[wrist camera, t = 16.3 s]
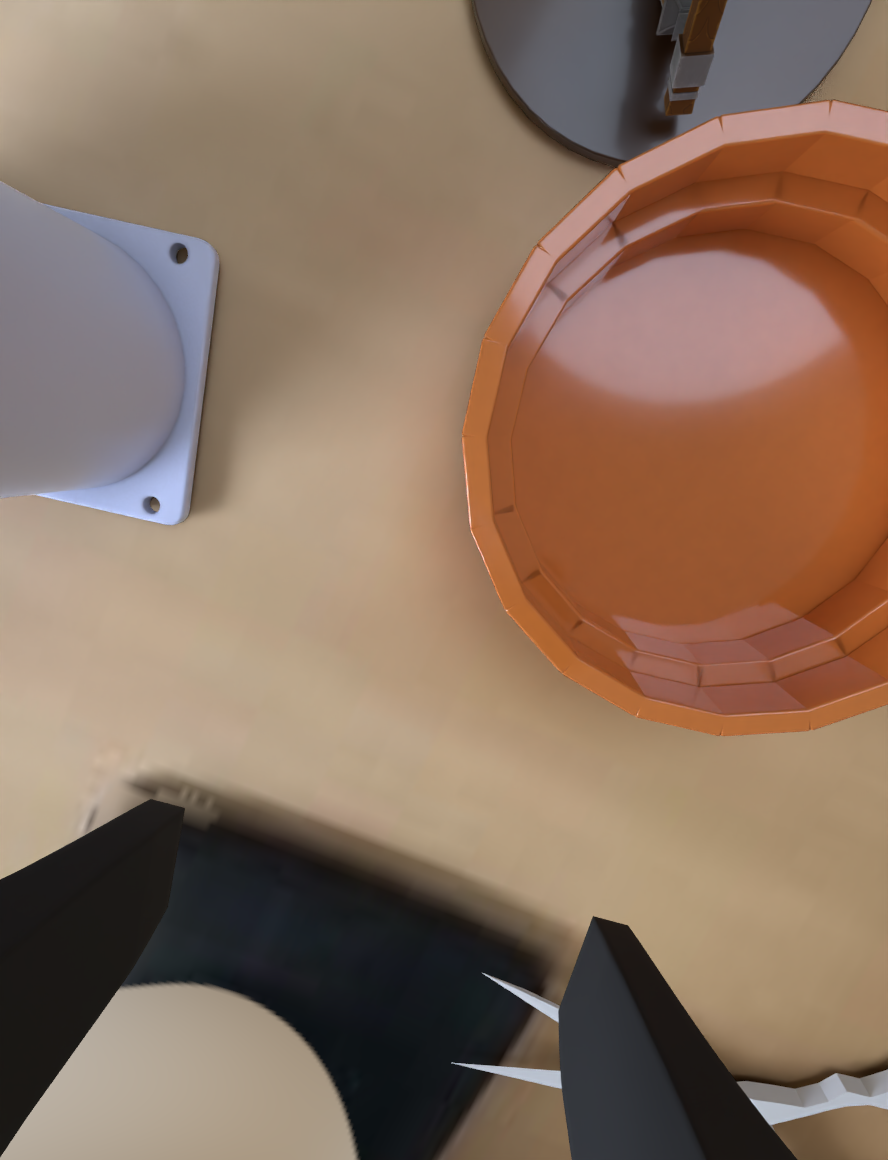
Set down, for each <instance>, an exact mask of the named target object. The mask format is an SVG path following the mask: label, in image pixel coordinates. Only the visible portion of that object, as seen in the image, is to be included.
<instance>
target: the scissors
mask: <svg viewBox="0 0 888 1160" xmlns="http://www.w3.org/2000/svg"><path fill="white" fill-rule="evenodd" d="M483 974H484V973H483ZM484 975H486V976H488V977H489V978H491V979H492V980H494V981H495V982H497V983H498V984H500V985H501V986H503V987H504V988H506V989H508V990H509V991H511V992H512V993H514V994H515V995H517V996H518V997H520V998H521V999H523V1000H524V1001H526V1002H528V1003H529V1004H531V1005H532V1006H534V1007H535V1008H537V1009H538V1010H540V1011H541V1012H543V1013H544V1014H546V1015H548V1016H549V1017H551V1018H552V1019H554V1020H555V1021H557V1022H558V1023H559V1018H558V1010H559V1008H560V1006H559V1005H557V1004H555V1003H553V1002H551V1001H549V1000H547V999H545V998H542V997H540V996H538V995H536V994H534V993H532V992H530V991H528V990H526V989H523V988H521V987H518V986H515V985H513V984H510V983H508V982H505V981H502V980H500V979H497V978H495V977H492V976H489V975H487V974H484ZM453 1064H458V1065H462V1066H466V1067H471V1068H475V1069H479V1070H483V1071H488V1072H492V1073H496V1074H501V1075H505V1076H509V1077H513V1078H518V1079H522V1080H526V1081H531V1082H535V1083H539V1084H543V1085H548V1086H552V1087H556V1088H561V1089H562V1086H561V1071H553V1070H539V1069H526V1068H513V1067H499V1066H486V1065H473V1064H459V1063H453ZM737 1083H738V1085H739V1086H740V1087H741V1088H742V1090H743V1091H744V1092H745V1094H746V1095H747V1096H748V1098H749V1099H750V1100H751V1101H752V1103H753V1104H754V1105H755V1107H756V1108H757V1109H758V1111H759V1112H760V1113H761V1115H762V1116H763V1117H764V1118H765V1120H766V1121H767V1122H768V1124H769V1125H770V1126H771V1128H772V1129H773V1127H772V1125H773V1124H777V1123H781V1122H785V1121H789V1120H793V1119H797V1118H801V1117H805V1116H809V1115H813V1114H816V1113H820V1112H824V1111H827V1110H831V1109H836V1108H841V1107H845V1106H859V1105H872V1106H876V1107H880V1108H884V1109H888V1069H887V1070H885V1071H882V1072H879V1073H875V1074H872V1075H869V1076H866V1077H863V1078H856V1077H851V1076H847V1075H843V1074H839V1073H835V1074H833V1075H831V1076H830V1077H828V1078H826V1079H824V1080H823V1081H821V1082H819V1083H816V1084H812V1085H808V1086H804V1087H800V1088H796V1089H793V1088H788V1087H782V1086H777V1085H771V1084H764V1083H756V1082H749V1081H740V1082H737ZM773 1130H774V1129H773Z"/></svg>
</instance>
